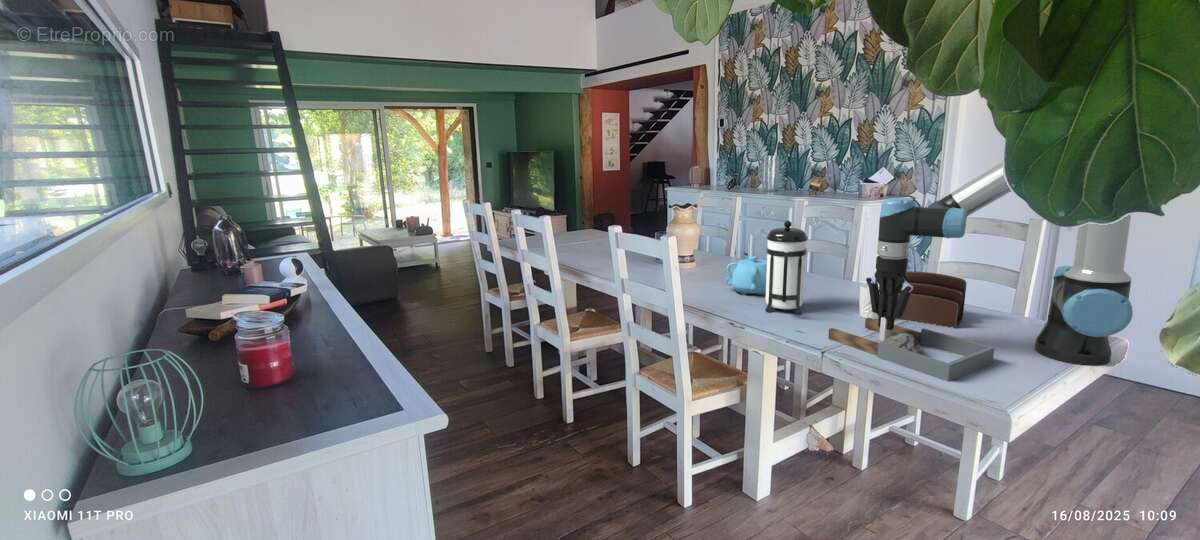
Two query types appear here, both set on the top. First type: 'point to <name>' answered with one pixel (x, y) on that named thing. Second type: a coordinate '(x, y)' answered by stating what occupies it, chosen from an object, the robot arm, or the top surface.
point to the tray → (973, 360)
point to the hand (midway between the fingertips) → (884, 339)
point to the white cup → (866, 302)
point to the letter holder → (935, 299)
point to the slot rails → (866, 343)
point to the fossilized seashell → (905, 343)
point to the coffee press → (785, 268)
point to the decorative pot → (748, 276)
